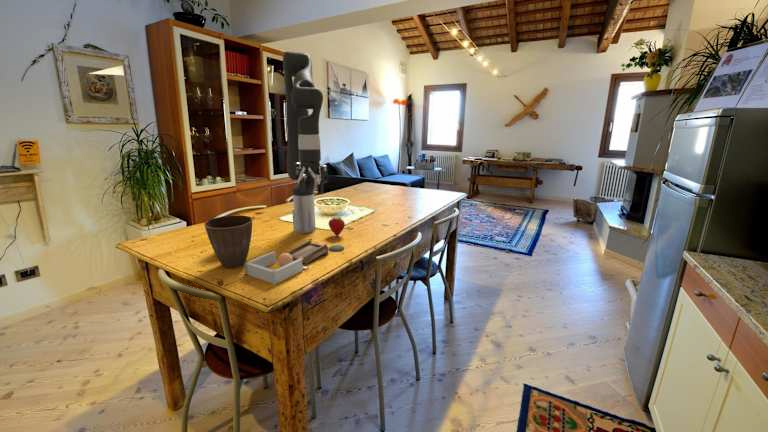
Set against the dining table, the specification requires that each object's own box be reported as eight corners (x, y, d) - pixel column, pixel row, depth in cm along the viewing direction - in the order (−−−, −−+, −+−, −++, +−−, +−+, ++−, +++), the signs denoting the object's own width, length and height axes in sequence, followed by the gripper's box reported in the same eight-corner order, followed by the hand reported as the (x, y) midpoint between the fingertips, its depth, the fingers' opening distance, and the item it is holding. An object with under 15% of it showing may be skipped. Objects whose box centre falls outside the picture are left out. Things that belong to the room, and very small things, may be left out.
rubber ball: (276, 268, 117) (273, 256, 115) (287, 260, 121) (283, 248, 119) (287, 271, 115) (283, 259, 112) (297, 263, 118) (293, 251, 116)
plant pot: (261, 267, 117) (256, 223, 112) (213, 277, 109) (207, 230, 105) (251, 253, 129) (247, 213, 125) (208, 261, 121) (201, 219, 117)
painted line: (277, 260, 123) (277, 259, 123) (279, 259, 124) (279, 258, 123) (305, 268, 116) (305, 268, 116) (307, 267, 117) (307, 267, 117)
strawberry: (333, 232, 154) (332, 211, 151) (347, 234, 151) (347, 213, 148) (326, 236, 149) (325, 214, 146) (340, 238, 146) (340, 216, 143)
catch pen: (245, 274, 112) (244, 262, 110) (273, 261, 121) (273, 251, 120) (275, 284, 105) (274, 272, 104) (302, 270, 115) (301, 259, 113)
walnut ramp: (286, 259, 124) (285, 249, 123) (309, 249, 134) (308, 239, 133) (306, 265, 119) (305, 254, 118) (328, 254, 129) (328, 244, 128)
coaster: (325, 249, 133) (325, 248, 133) (335, 245, 138) (335, 244, 138) (337, 252, 130) (337, 251, 130) (347, 247, 135) (346, 246, 135)
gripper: (287, 147, 119) (289, 192, 124) (317, 149, 112) (319, 197, 117) (302, 145, 125) (304, 188, 130) (332, 148, 118) (333, 193, 123)
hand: (311, 192), depth 123 cm, fingers open, 8 cm apart
